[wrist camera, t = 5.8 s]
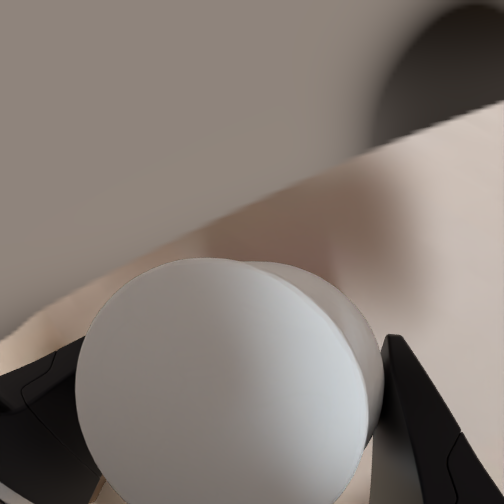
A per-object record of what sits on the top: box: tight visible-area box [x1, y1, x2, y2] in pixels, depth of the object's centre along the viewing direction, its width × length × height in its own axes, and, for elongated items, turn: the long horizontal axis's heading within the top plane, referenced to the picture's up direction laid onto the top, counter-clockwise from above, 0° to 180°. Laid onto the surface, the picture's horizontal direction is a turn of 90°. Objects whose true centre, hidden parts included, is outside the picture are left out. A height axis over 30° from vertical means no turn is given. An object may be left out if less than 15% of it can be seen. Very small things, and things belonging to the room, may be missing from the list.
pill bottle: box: [75, 257, 385, 504], centre depth 9 cm, size 6×6×11 cm
